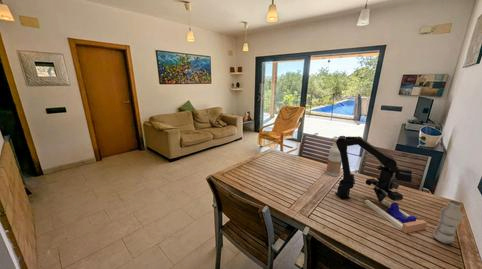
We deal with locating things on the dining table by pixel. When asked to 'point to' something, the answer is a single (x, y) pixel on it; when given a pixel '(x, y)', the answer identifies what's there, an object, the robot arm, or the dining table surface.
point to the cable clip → (399, 214)
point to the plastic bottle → (448, 222)
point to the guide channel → (404, 227)
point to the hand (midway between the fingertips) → (380, 201)
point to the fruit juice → (334, 160)
